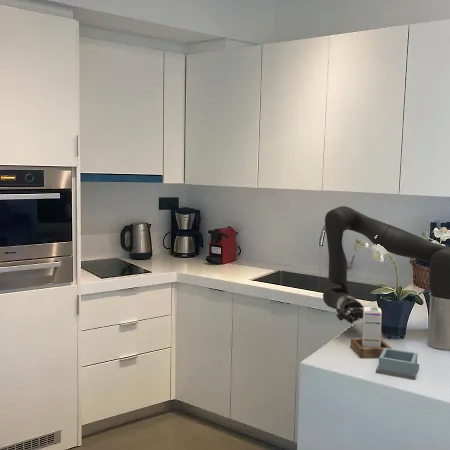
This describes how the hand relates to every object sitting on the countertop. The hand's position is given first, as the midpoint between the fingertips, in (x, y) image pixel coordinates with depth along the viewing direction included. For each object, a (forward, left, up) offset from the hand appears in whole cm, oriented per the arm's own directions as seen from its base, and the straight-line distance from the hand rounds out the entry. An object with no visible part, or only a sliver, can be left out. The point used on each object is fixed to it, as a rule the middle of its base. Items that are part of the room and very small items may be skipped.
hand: (364, 320), depth 185 cm
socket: (-3, +22, -9) cm, 24 cm away
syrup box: (0, +7, -9) cm, 11 cm away
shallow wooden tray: (0, +7, -9) cm, 11 cm away
